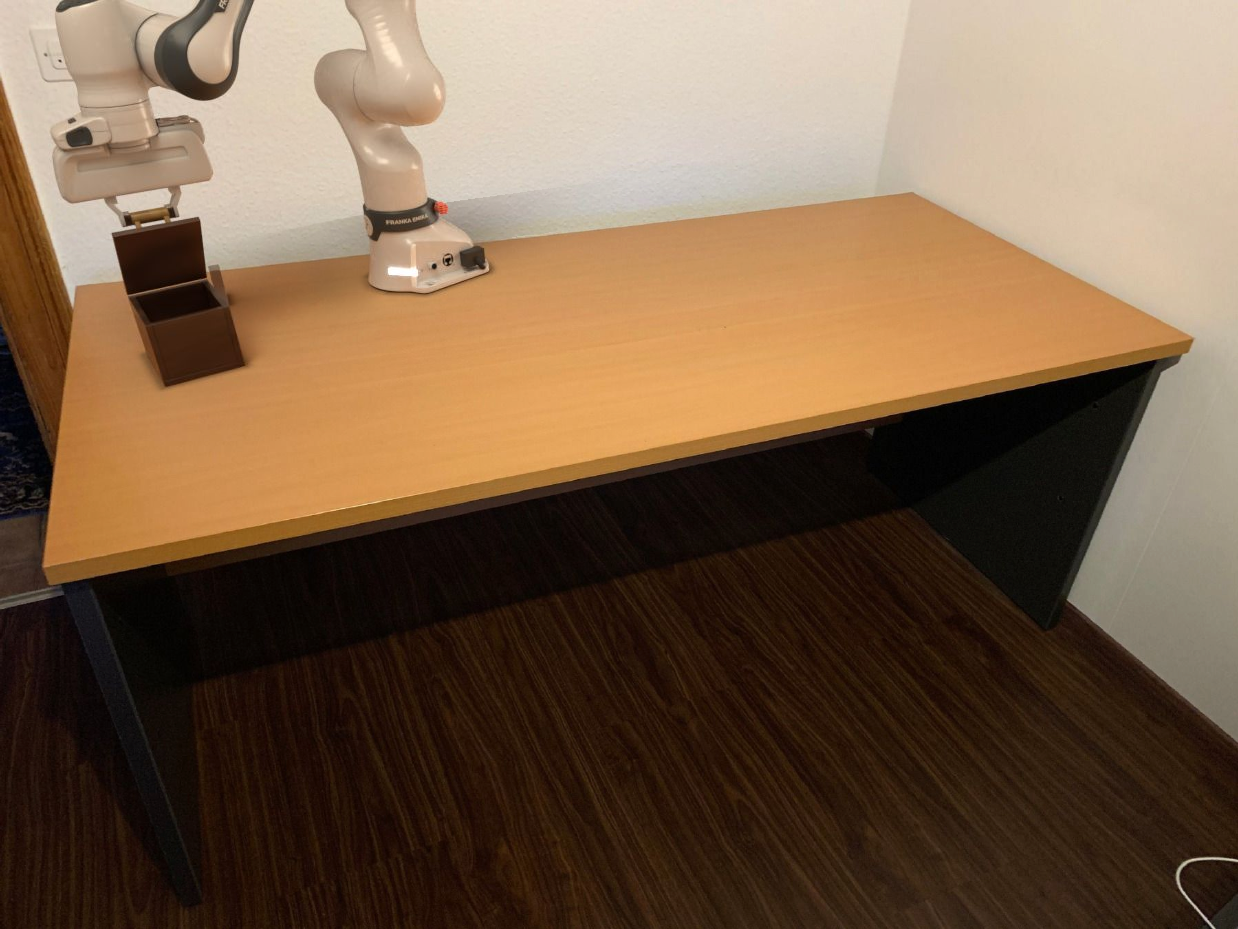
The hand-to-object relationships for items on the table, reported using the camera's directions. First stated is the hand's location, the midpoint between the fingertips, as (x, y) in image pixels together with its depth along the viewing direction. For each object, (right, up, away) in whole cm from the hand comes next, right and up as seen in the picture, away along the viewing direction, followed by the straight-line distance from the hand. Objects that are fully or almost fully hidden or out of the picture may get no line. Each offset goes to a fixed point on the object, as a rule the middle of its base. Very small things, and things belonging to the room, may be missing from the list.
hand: (150, 221), depth 135 cm
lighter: (-1, -7, +28) cm, 29 cm away
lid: (+1, -5, +2) cm, 6 cm away
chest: (+2, -19, +9) cm, 22 cm away
